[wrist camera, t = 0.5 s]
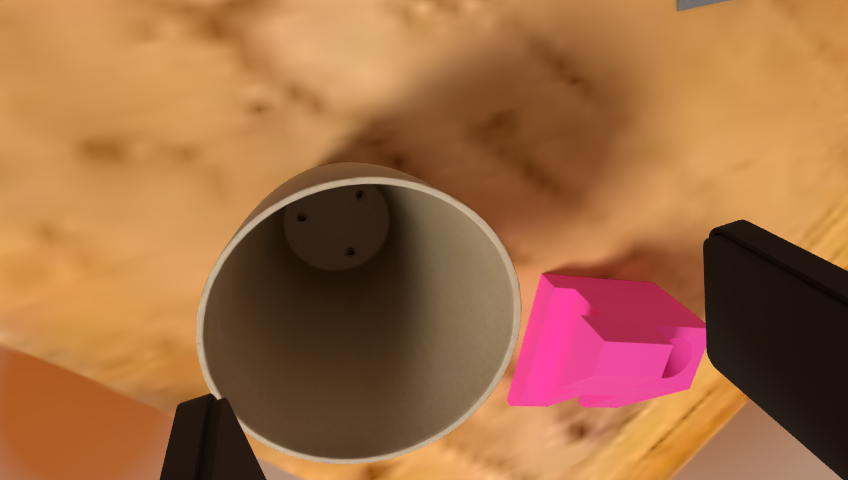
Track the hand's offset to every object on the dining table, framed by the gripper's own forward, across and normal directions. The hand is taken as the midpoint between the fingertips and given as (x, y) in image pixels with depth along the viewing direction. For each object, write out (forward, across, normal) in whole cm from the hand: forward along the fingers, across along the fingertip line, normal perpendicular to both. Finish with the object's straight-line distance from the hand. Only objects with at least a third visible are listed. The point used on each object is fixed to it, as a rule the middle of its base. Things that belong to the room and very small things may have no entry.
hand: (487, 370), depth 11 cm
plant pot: (+31, +2, +8) cm, 32 cm away
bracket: (+31, -14, +25) cm, 42 cm away
